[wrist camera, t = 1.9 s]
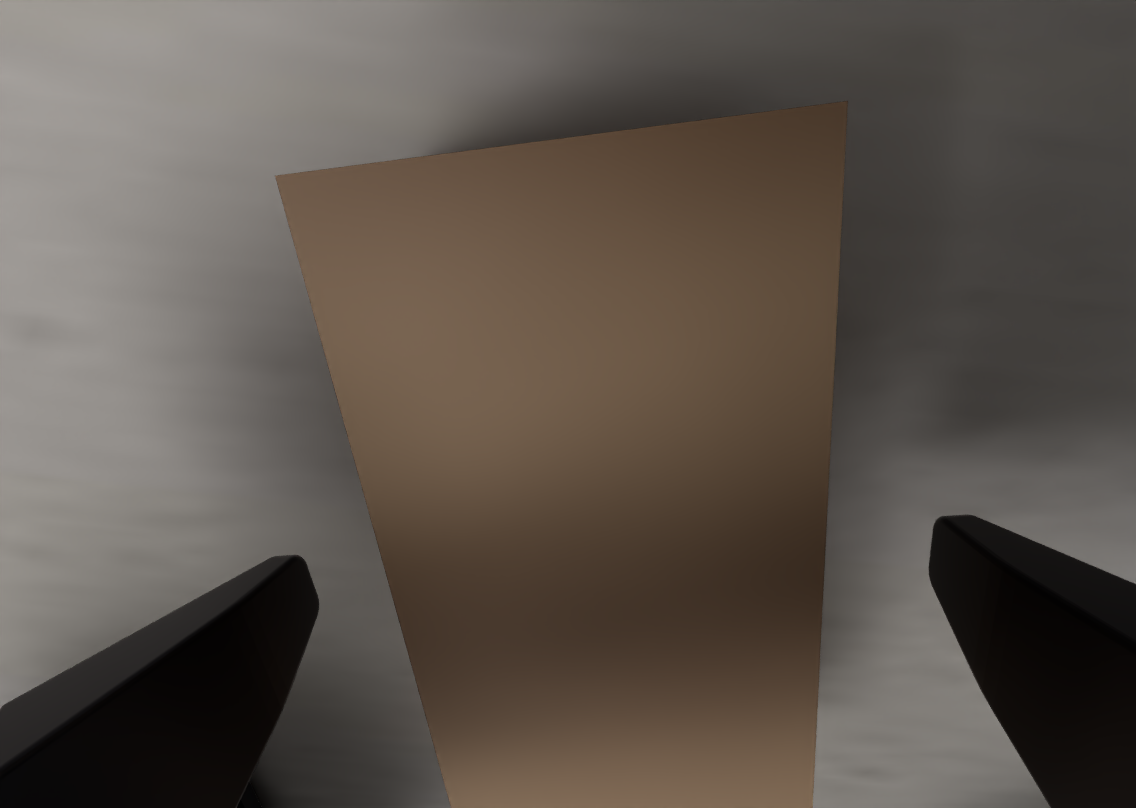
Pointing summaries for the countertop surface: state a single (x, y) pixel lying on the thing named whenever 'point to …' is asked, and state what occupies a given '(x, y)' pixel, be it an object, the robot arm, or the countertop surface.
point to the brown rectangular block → (597, 446)
